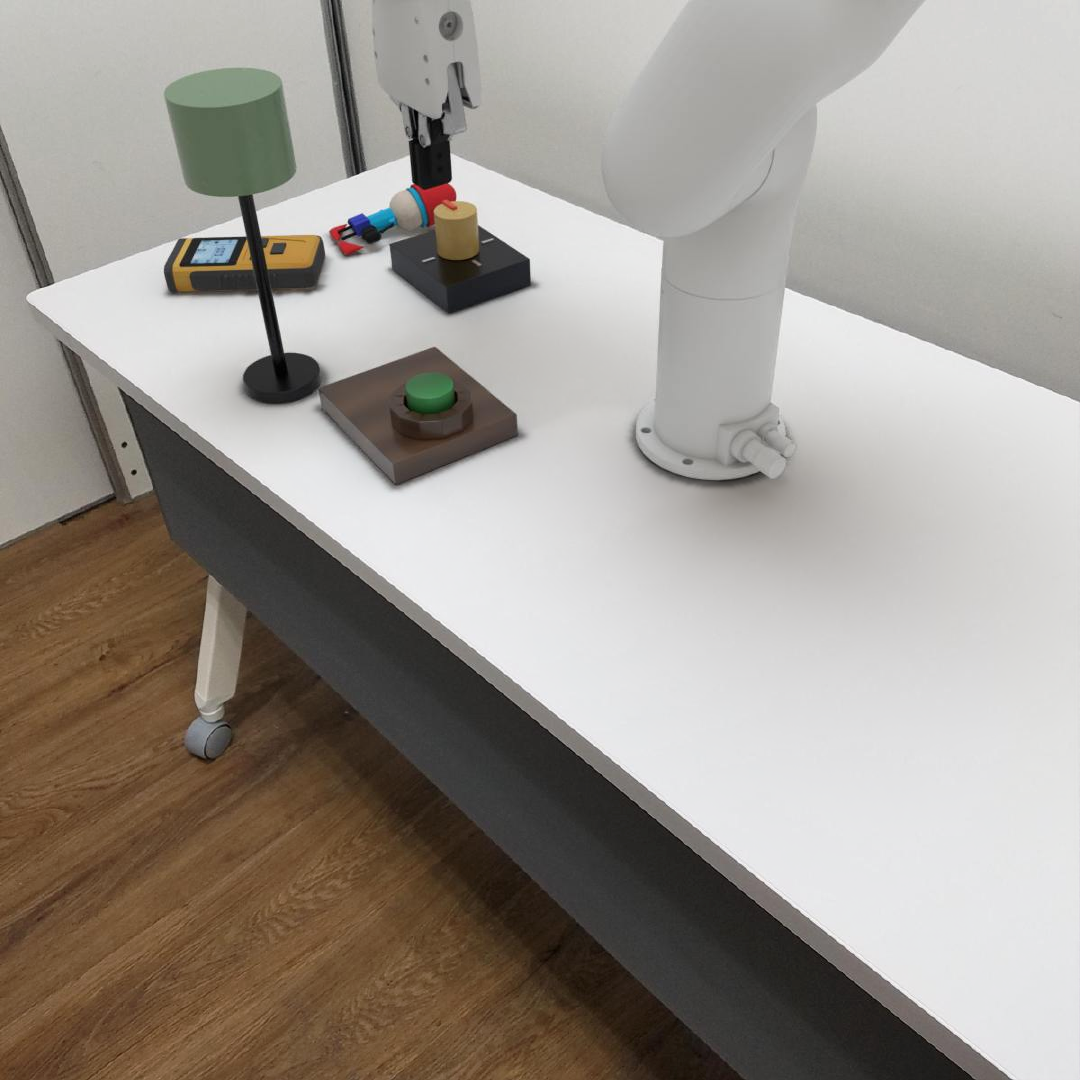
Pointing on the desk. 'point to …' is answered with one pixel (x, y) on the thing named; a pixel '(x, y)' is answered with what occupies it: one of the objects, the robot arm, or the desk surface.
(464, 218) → the knob
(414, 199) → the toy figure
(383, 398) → the button base
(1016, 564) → the desk surface
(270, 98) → the lamp
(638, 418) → the robot arm
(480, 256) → the dimmer panel
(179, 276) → the electronic device
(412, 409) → the switch
